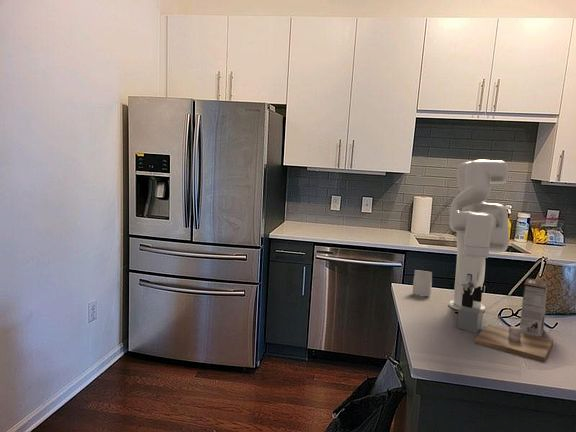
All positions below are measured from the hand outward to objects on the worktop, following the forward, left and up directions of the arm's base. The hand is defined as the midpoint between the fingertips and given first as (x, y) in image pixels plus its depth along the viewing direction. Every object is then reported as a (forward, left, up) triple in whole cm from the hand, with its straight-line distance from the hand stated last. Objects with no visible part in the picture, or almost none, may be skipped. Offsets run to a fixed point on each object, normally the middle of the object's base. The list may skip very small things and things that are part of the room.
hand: (471, 303), depth 138 cm
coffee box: (-13, +16, -9) cm, 22 cm away
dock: (+3, +14, -8) cm, 16 cm away
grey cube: (-1, 0, -8) cm, 8 cm away
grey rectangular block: (-26, -26, -9) cm, 38 cm away
